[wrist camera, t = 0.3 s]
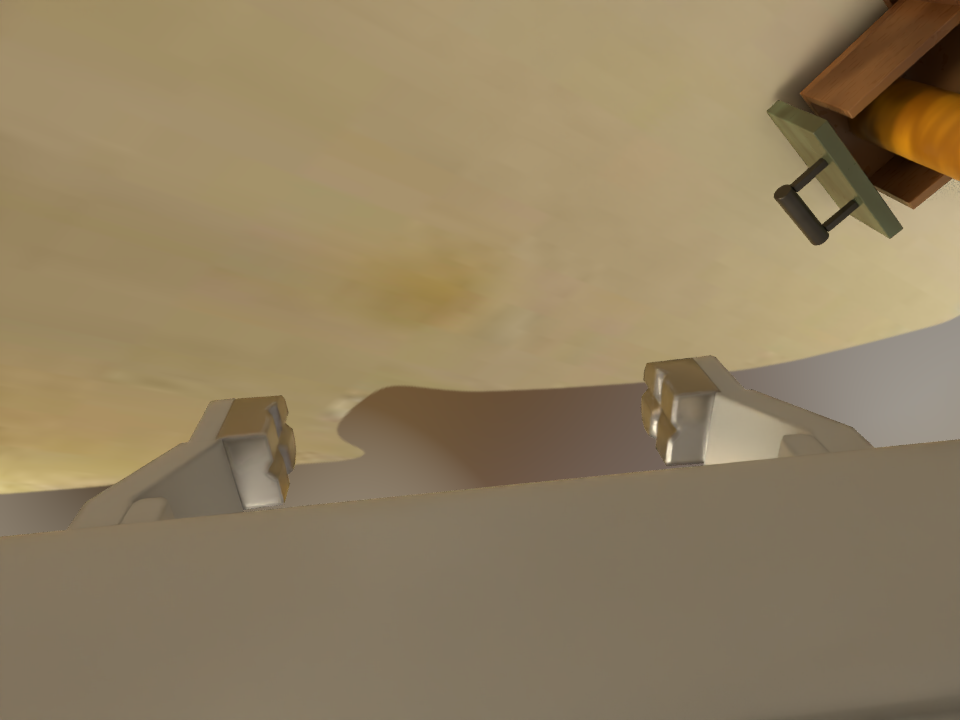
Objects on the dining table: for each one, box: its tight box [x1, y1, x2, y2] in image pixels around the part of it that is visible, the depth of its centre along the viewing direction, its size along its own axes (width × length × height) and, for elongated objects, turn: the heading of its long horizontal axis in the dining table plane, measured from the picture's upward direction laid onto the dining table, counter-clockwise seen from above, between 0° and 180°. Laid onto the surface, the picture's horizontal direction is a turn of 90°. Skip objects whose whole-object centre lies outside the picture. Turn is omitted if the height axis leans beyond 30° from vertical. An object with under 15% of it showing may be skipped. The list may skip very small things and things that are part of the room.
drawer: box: [767, 0, 960, 245], centre depth 47 cm, size 19×12×7 cm, turn 138°
